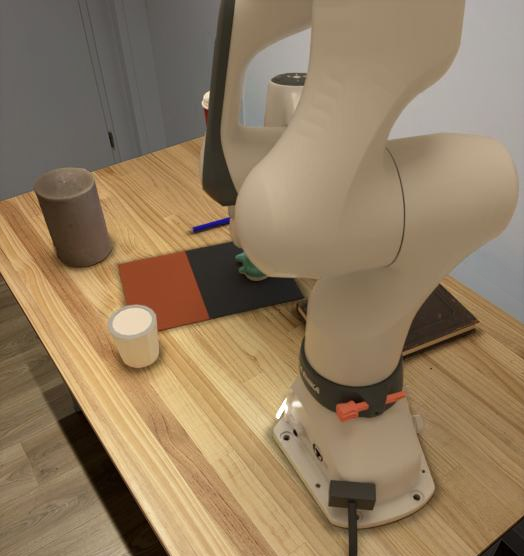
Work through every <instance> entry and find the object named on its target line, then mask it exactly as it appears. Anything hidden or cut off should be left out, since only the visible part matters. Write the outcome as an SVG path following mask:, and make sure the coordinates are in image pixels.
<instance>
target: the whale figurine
mask: <svg viewBox="0 0 524 556" xmlns="http://www.w3.org/2000/svg"><path fill="white" fill-rule="evenodd" d="M235 259H236V260H237V261H239V262H242V264H243V267H240V268H239V272H240V273H242V274H245V275H246V277H247V278H248V279H250V280H253V281H261V280H264V279H266V278H267V277H269V276H267V275H265V274H264V273H262V272H261V271H260V270H259V269H258V268H256V267H255V266H254V264H253V263H252V262H251V261H250V260H249V259H248V257H247V256H246V254H245V253H241V254H239V255H236V257H235Z"/></svg>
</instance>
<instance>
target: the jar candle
mask: <svg viewBox="0 0 524 556" xmlns="http://www.w3.org/2000/svg"><path fill="white" fill-rule="evenodd" d="M107 330H108V332H109V335H110V336H111V338H112V340H113V343H114V345H115V347H116V349H117V352H118V353H119V356H120V358H121V360H122V361H123V363H124V364H125V365H126V366H128V367H130V368H135V369H140V368H146V367H148V366H151V365H153V363H155V362H156V361H157V360H158V358H159V355H160V345H159V333H158V332H159V331H157V320H156V314H155V313H154V311H153V310H152V309H150V308H148V307H146V306H143V305H129V306H127V305H125V306H123V307H120V308H118V309H116V310H115V311H114V312H113V313H111V315H110V316H109V319H108V320H107Z"/></svg>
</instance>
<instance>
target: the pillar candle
mask: <svg viewBox="0 0 524 556" xmlns="http://www.w3.org/2000/svg"><path fill="white" fill-rule="evenodd" d="M33 190H34V193H35V196H36V198H37V201H38V205H39V207H40V210H41V212H42V216H43V218H44V223H45V225H46V228H47V229H48V234H49V236H50V239H51V242H52V246H53V247H54V249H55V251H56V253H55V254H56V258H57V259H58V260H59V261H60V262H61V263H62V264H64V265H66V266H67V267H68V266H69V267H73V268H83V267H84V268H85V267H89V266H93V265H95V264H98V263H100V262H102V261H104V260H105V259H106V258H107V257H108V256H109V255H110V254H111V253H110V252H111V250H112V242H111V239H110V234H109V230H108V227H107V226H108V225H107V223H106V222H107V221H106V217H105V215H104V211H103V207H102V203H101V199H100V195H99V192H98V187H97V184H96V179H95V176H94V175H93V174H92V173H91V172H90V171H89V170H87V168H81V167H80V168H79V167H61V168H56V169H52V170H49V171H47V172H46V173H44V174H42V175H41V176H40V177H38V178H37V180H36V181H35V182H34V186H33Z"/></svg>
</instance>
